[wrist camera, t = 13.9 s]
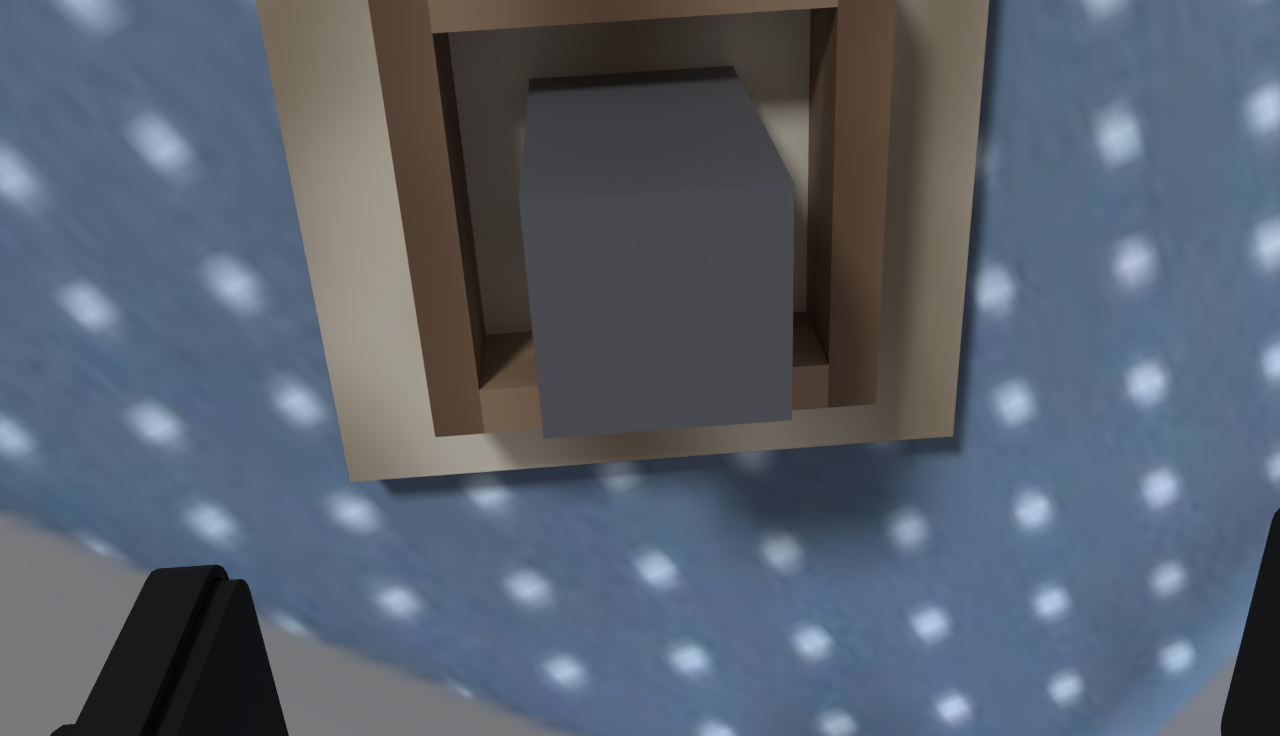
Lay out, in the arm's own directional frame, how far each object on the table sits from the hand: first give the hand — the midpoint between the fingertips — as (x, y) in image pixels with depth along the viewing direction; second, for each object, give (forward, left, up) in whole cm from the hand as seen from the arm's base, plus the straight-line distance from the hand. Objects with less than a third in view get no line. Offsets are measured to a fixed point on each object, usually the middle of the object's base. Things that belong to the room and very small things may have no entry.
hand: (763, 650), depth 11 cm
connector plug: (0, 0, -15) cm, 15 cm away
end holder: (0, 0, -16) cm, 16 cm away
